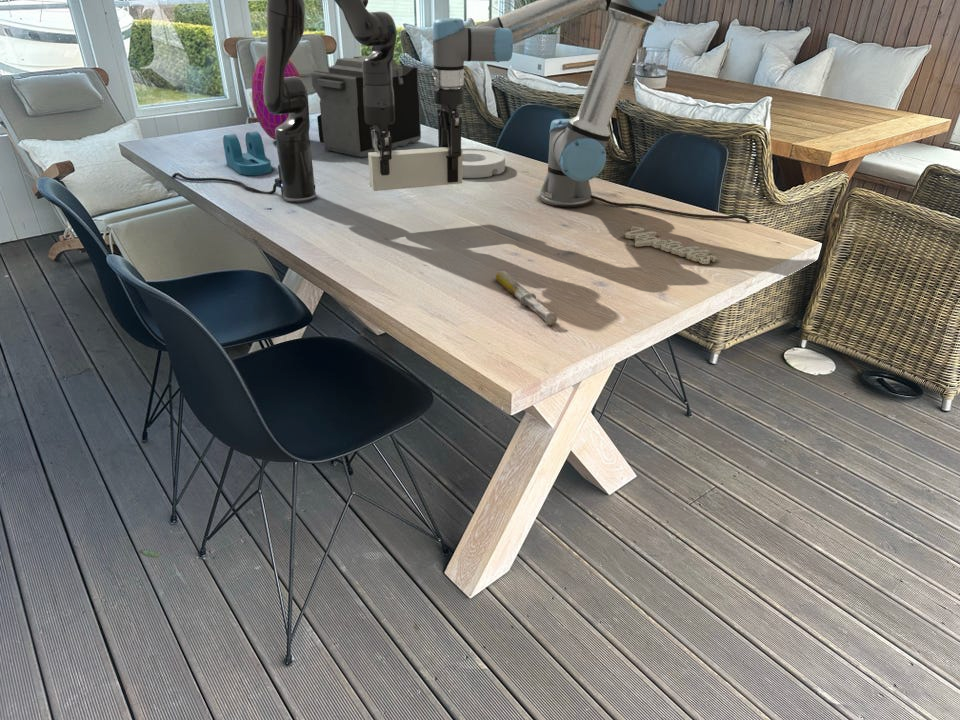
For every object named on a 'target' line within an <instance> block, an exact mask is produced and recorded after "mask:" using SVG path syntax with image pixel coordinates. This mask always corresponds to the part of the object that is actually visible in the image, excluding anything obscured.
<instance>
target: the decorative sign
mask: <svg viewBox="0 0 960 720" xmlns="http://www.w3.org/2000/svg"><path fill="white" fill-rule="evenodd" d="M624 238H626V239H629V240H630V239H631V240H634V247H636V248H639V247H653V248H655V249H660V250H661V251H663V252H667V253H671V254H673V255H677V256H679V257H685V259H687V260H691V261H693V262H696V263H697V262H698V263H700V264H702V265H709V264H710V261H711V262H712V263H715V262H716V258H717V257H716V256H715V255H711V254H710V250H709V249H700V247H699V246H697V245H696V246H686V247H685V246H684V245H683V243H682V242H681V241H677V240H676V241H675V240H673V239H667V240H666V239H662V238H658V237H657V232H656V231H645V228H643V227H639V226H631V229H630V231H625V234H624ZM709 254H710V255H709Z"/></svg>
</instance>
